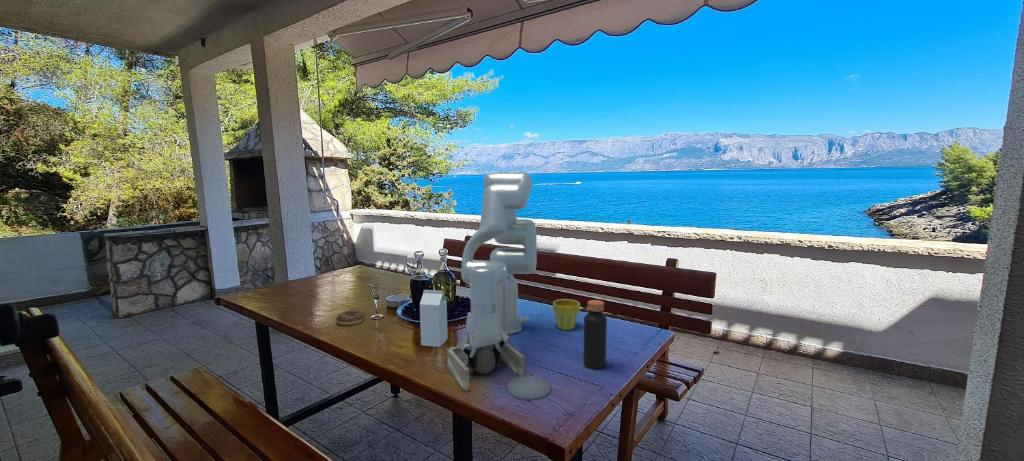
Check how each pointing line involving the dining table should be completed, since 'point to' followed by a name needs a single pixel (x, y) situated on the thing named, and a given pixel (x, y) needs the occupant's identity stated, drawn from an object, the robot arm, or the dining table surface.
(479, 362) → the vase
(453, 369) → the holder
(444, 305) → the milk carton
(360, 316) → the donut
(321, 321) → the dining table surface
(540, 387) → the mat
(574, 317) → the plant pot
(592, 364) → the bottle
